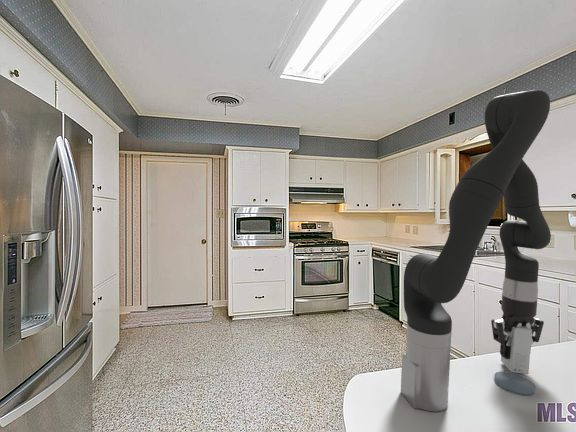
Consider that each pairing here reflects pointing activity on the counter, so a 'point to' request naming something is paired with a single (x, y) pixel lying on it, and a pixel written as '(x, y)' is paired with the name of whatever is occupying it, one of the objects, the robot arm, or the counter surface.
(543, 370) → the counter surface
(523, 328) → the skincare box
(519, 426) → the counter surface
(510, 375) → the slate dish
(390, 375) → the counter surface
